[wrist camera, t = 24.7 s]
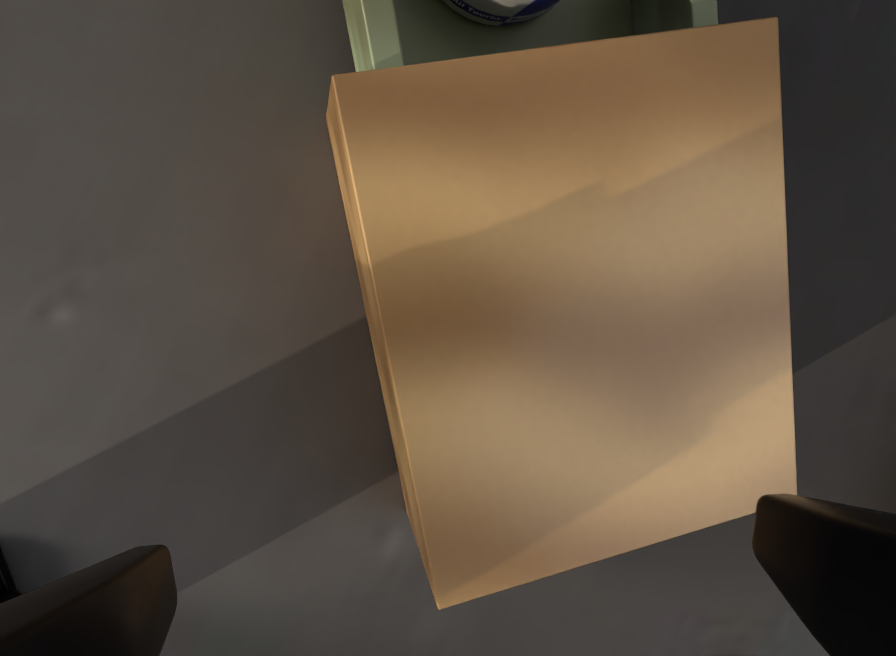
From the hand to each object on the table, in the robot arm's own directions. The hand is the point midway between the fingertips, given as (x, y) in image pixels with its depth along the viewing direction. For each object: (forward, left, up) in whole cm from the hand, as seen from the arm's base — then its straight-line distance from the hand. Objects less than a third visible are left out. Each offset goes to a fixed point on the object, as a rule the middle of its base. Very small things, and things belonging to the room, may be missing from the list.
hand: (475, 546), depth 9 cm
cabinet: (+6, +1, -12) cm, 13 cm away
